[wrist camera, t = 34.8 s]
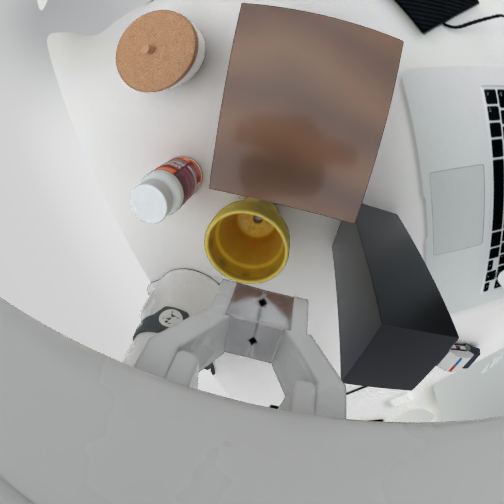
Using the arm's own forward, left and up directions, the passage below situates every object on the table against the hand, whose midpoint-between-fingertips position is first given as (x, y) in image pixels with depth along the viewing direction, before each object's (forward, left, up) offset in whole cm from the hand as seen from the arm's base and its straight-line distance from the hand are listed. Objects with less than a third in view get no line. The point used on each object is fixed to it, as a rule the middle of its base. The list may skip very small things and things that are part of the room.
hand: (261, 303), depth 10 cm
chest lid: (+5, 0, -17) cm, 18 cm away
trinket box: (+10, +18, -31) cm, 37 cm away
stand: (-10, -13, -31) cm, 35 cm away
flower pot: (-12, +3, -31) cm, 34 cm away
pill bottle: (-8, +15, -31) cm, 36 cm away
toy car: (-31, -45, -31) cm, 63 cm away
